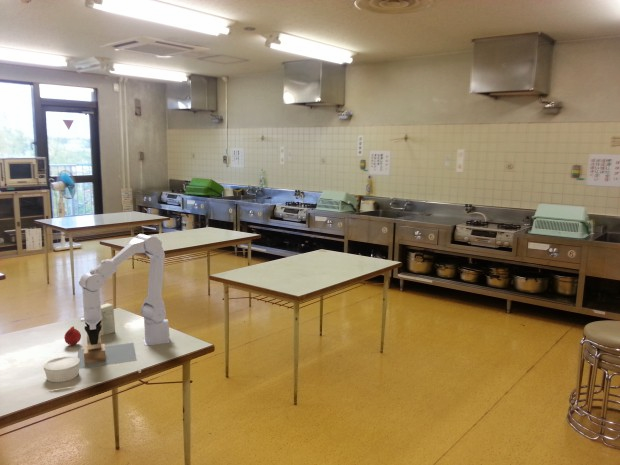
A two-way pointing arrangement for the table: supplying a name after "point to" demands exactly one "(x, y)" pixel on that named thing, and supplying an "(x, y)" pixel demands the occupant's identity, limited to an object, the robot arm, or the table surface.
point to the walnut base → (94, 354)
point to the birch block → (95, 344)
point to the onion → (72, 336)
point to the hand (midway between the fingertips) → (94, 341)
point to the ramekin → (62, 369)
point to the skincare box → (107, 319)
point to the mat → (111, 355)
